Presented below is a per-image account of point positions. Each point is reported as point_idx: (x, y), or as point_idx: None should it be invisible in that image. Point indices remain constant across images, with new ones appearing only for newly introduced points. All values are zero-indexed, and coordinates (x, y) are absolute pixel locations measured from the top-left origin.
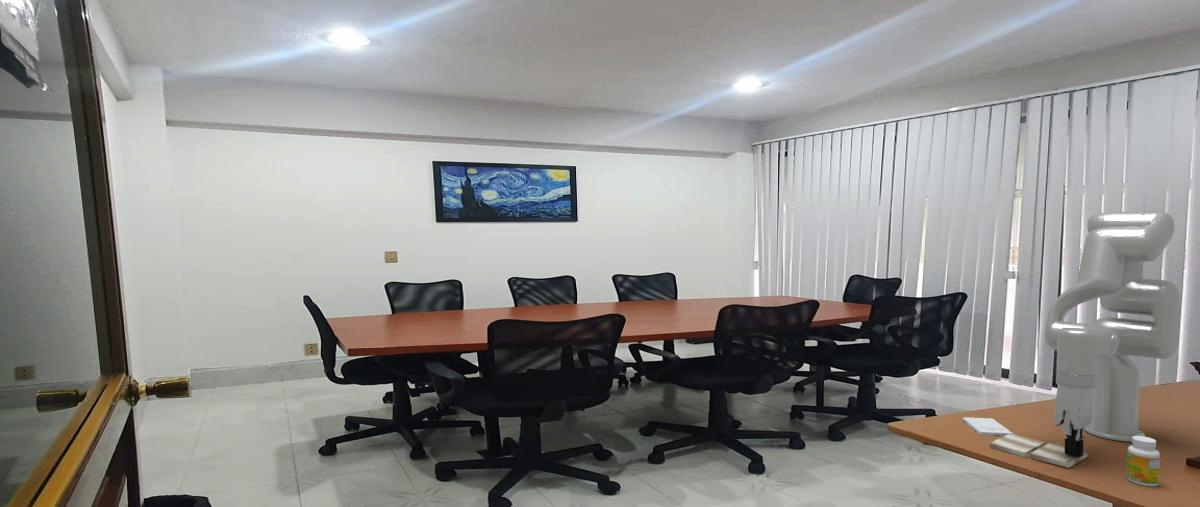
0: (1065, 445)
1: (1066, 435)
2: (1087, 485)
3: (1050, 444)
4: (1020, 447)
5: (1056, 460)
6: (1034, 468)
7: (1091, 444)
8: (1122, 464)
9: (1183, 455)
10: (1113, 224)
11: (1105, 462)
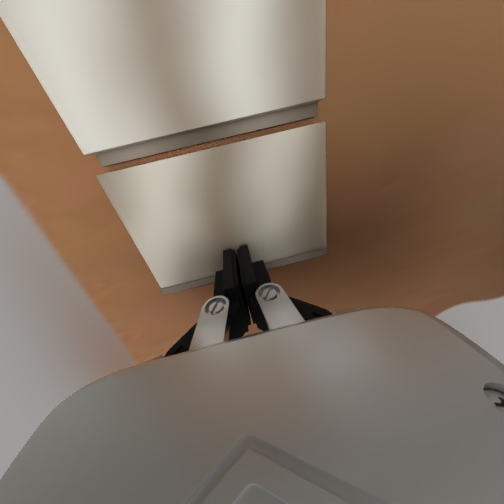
0: (224, 268)
1: (186, 334)
2: (124, 344)
3: (303, 138)
4: (115, 84)
5: (149, 264)
6: (52, 245)
7: (465, 175)
8: (332, 295)
9: (484, 298)
10: None
11: (315, 278)
